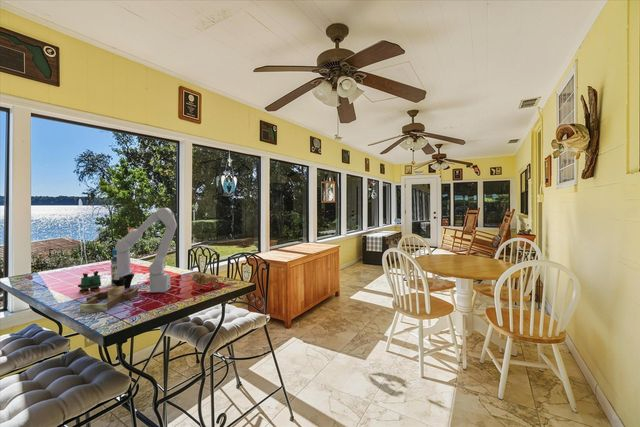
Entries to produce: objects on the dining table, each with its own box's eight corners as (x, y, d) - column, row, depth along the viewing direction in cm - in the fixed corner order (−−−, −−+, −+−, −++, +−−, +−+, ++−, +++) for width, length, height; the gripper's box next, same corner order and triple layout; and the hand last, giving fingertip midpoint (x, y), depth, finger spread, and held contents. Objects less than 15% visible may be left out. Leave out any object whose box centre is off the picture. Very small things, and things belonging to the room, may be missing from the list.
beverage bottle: (131, 283, 168) (131, 248, 167) (115, 286, 161) (114, 250, 160) (124, 280, 172) (124, 247, 172) (108, 284, 165) (107, 249, 165)
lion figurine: (192, 291, 154) (192, 274, 153) (192, 288, 159) (192, 272, 158) (221, 288, 160) (221, 272, 159) (221, 286, 164) (221, 270, 164)
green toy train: (94, 270, 158) (102, 270, 153) (95, 289, 158) (103, 290, 152) (73, 273, 150) (81, 273, 145) (74, 293, 150) (82, 295, 145)
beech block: (124, 295, 145) (124, 285, 145) (119, 299, 140) (119, 288, 140) (113, 296, 145) (113, 286, 144) (107, 299, 140) (107, 289, 140)
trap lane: (140, 292, 151) (140, 286, 151) (113, 310, 125) (113, 303, 125) (106, 293, 148) (106, 287, 148) (72, 312, 123) (72, 305, 123)
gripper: (122, 261, 156) (122, 286, 156) (106, 267, 141) (107, 294, 142) (136, 261, 157) (137, 286, 157) (122, 267, 142) (122, 294, 143)
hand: (123, 290), depth 150 cm, fingers open, 6 cm apart
